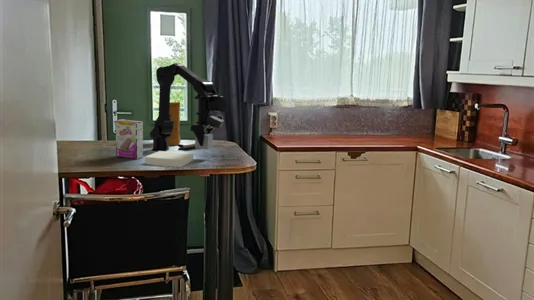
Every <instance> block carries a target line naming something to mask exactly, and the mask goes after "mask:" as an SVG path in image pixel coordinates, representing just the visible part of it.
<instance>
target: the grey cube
mask: <svg viewBox="0 0 534 300" xmlns="http://www.w3.org/2000/svg"><path fill="white" fill-rule="evenodd" d="M194 139H195V142H194V143H195V146H194V149H201V150H210V149H212V148H213V143H214V141H213V140H214V134H213V133H211V134H208V133H206V134H205V135H204V142H203V146H200V144H199V142H198V140H197V138H196V136H194Z"/></svg>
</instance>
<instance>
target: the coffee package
mask: <svg viewBox="0 0 534 300" xmlns="http://www.w3.org/2000/svg"><path fill="white" fill-rule="evenodd" d="M180 112H181V101H175V102H171V101H170V110H169V117H170V119H171V121H173V122H174V123H173V128H174V129H173V130H172V132H171V136H170V137H168V140H169V147H170V146H179V145H180V143H181V135H180V123H181V115H180Z"/></svg>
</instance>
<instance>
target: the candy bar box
mask: <svg viewBox="0 0 534 300" xmlns="http://www.w3.org/2000/svg"><path fill="white" fill-rule="evenodd" d="M115 157H118V158H122V159H123V158H124V159H131V160H140V159H143V158H144V122H143V121H142V120H141V121H140V120H132V119H131V120H130V119H123V118H122V119H117V120H116V119H115Z"/></svg>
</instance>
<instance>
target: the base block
mask: <svg viewBox="0 0 534 300" xmlns="http://www.w3.org/2000/svg"><path fill="white" fill-rule="evenodd" d="M189 162H190V163H192V162H194V153H188V152H176V151H168V150H166V151H155V152H153V153H151V154H149V155H145V156H144V165H154V166H164V167H172V168H174V167H175V168H183V167H184V166H186V165H188V164H189Z"/></svg>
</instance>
